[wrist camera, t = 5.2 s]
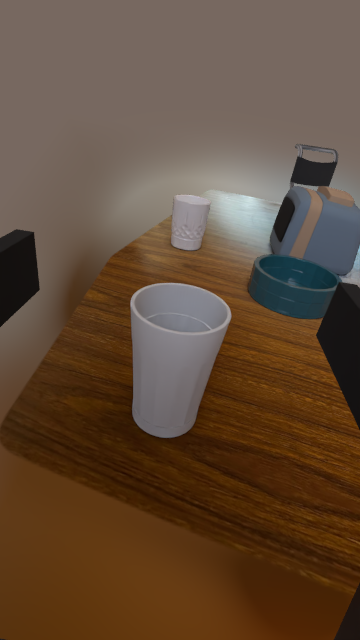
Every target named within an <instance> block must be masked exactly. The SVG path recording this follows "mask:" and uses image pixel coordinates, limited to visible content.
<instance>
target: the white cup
mask: <svg viewBox="0 0 360 640" xmlns="http://www.w3.org/2000/svg"><path fill="white" fill-rule="evenodd" d="M210 206H211V201H210V200H208V199H205V198H202V197H198V196H193V195H175V196H174V202H173V214H172V229H171V231H172V237H171V244H172V245H173V246H174V247H176V248H179V249H183V250H198V249H199V248H200V247H201V243H202V237H203V235H204V232H205V228H206V224H207V219H208V215H209V210H210Z"/></svg>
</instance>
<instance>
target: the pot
mask: <svg viewBox="0 0 360 640" xmlns="http://www.w3.org/2000/svg"><path fill="white" fill-rule="evenodd" d="M339 282H342V280H341V279H340V278H339V276H338V275H337V274H335V273H334V272H333V271H331V270H330V269H328V268H326V267H324V266H322V265H320V264H317V263H314V262H312V261H309V260H305V259H302V258H298V257H293V256H287V255H275V254H270V255H263V256H260V257H257V259H256V260H255V261H254V264H253V268H252V272H251V275H250V279H249V283H248V292H249V294H250V295H251V297H252V298H253V299H254V300H255V301H257V302H258V303H259V304H261V305H263V306H264V307H266V308H268V309H270V310H272V311H275V312H277V313H280V314H283V315H287V316H291V317H296V318H303V319H317V318H322V317H324V316H325V313H326V311H327V309H328V306H329V304H330V301H331V299H332V297H333V294H334V292H335V290H336V287H337V285H338V283H339Z"/></svg>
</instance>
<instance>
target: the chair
mask: <svg viewBox="0 0 360 640" xmlns="http://www.w3.org/2000/svg"><path fill="white" fill-rule="evenodd" d="M295 148H297V149H298V157H297V160H296V164H295V167H294V171H293V174H292V177H291V181H290V189H291V188H293V187H294V183H297V184H303V185H311V186H326V187H329V184H330V182H331V179H332V176H333V173H334V170H335V168H336V165H337V162H338V153H337V151H336V150H334V149H328V148H321V147H315V146H308V145H301V144H296V145H295ZM302 149H306V150H312V151H319V152H326V153H332V154H333V155H334V161H333V162H332V163H319V162H312V161H308V160H306V159H304V158H302V153H303V152H302Z"/></svg>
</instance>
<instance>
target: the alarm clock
mask: <svg viewBox="0 0 360 640" xmlns="http://www.w3.org/2000/svg"><path fill="white" fill-rule="evenodd" d="M270 243H271V245H272V248H273V251H274V254H275V255H287V256H293V257H298V258H302V259H305V260H309V261H312V262H314V263H317V264H320V265H322V266H324V267H326V268H328V269H330V270H331V271H333V272H334V273H335V274H339V275H346V274H347V273H349V272H350V271H351V269H352V268H353V265H354V261H355V258H356V255H357V252H358V248H359V245H360V209H359V208H358V207H357V206H356V205H355V204H354V199H353V198H352V196H351V195H350V194H348V193H347V192H345V191H341V190H337V189H333V188H330V187H326V186H320V187H318V190H317V191H314V190H311V189H307V188H304V187H299V186H297V187H293V188H291V189H290V190H289V191H288V193H287V194H286V196H285V198H284V200H283V202H282V205H281V207H280V210H279V212H278V215H277V218H276V220H275V223H274V226H273V230H272V233H271V236H270Z"/></svg>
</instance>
